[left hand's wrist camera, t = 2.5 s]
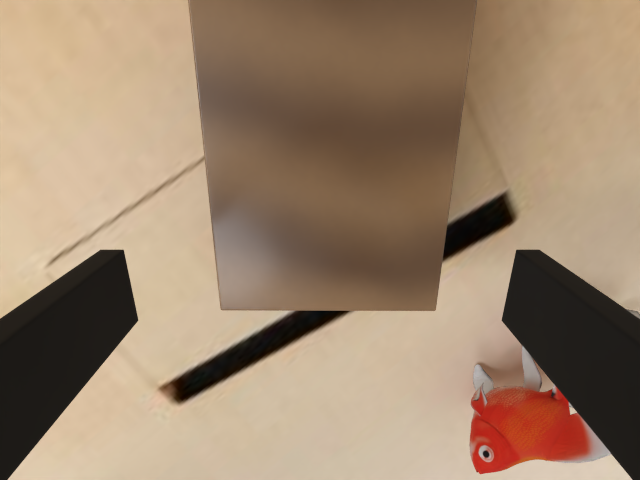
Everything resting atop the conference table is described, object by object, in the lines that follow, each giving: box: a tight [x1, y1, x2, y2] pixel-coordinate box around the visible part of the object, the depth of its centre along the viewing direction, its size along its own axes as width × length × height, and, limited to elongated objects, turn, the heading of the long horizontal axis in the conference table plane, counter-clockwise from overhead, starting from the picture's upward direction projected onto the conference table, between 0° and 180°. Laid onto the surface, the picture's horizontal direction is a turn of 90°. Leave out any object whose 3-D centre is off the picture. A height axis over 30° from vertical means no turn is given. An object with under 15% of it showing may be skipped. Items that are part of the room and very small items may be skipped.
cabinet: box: [188, 0, 477, 311], centre depth 20 cm, size 20×11×8 cm, turn 0°
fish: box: [470, 309, 640, 474], centre depth 27 cm, size 11×16×10 cm
